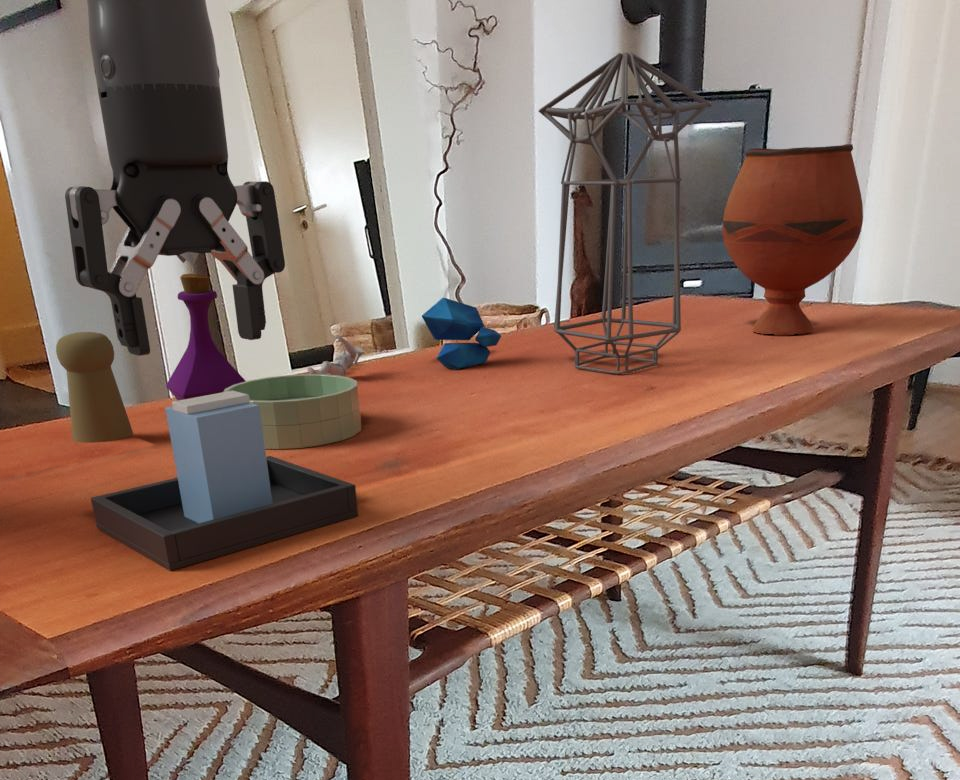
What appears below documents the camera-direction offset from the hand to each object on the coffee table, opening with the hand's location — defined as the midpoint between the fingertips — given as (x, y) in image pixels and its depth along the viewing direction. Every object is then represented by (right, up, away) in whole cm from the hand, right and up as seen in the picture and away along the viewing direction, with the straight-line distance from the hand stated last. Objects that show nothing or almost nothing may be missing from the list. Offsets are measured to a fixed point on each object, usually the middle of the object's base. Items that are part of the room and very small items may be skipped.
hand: (196, 346), depth 68 cm
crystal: (+18, +16, +62) cm, 66 cm away
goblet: (+65, +26, +77) cm, 105 cm away
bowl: (+1, 0, +29) cm, 30 cm away
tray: (+1, -12, +6) cm, 13 cm away
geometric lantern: (+38, +15, +57) cm, 70 cm away
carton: (+1, -11, +6) cm, 13 cm away
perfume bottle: (-10, +4, +40) cm, 41 cm away
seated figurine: (+2, +11, +54) cm, 55 cm away
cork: (-18, -1, +29) cm, 34 cm away
